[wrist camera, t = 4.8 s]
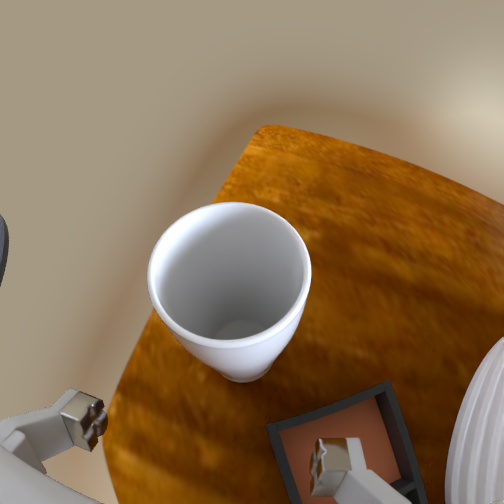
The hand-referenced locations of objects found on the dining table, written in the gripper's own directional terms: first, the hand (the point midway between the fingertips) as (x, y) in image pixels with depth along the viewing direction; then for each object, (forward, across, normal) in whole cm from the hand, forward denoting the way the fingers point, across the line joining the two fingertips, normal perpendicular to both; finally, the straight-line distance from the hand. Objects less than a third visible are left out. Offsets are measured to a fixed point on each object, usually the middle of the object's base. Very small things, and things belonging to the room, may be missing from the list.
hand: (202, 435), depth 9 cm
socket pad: (+5, -11, +14) cm, 19 cm away
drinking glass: (+15, 0, +5) cm, 16 cm away
